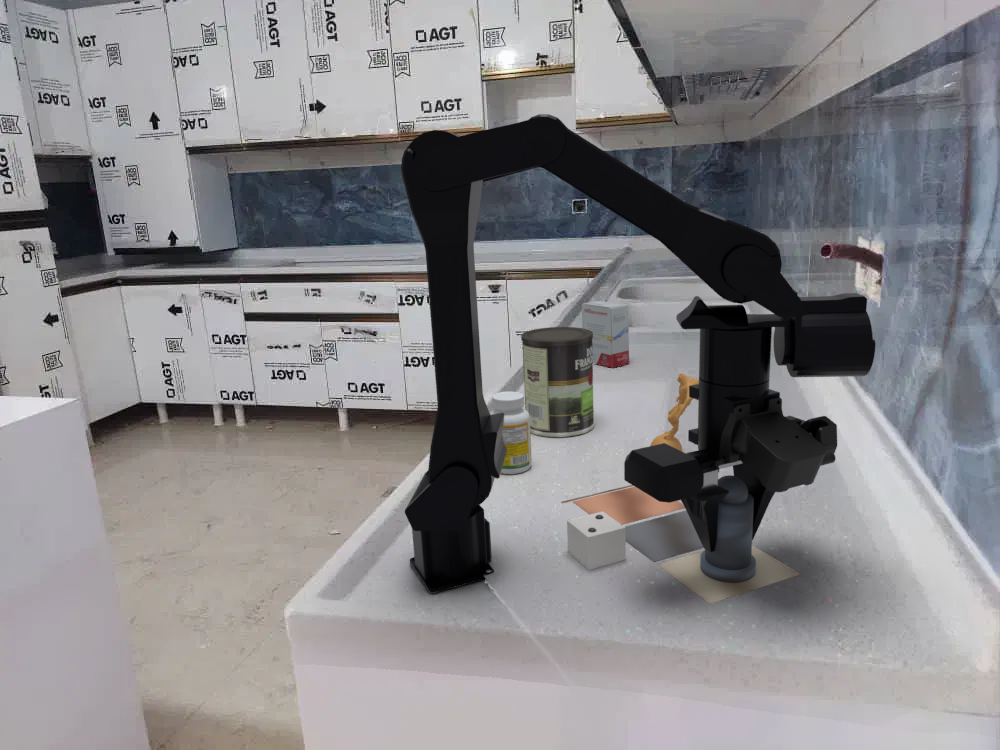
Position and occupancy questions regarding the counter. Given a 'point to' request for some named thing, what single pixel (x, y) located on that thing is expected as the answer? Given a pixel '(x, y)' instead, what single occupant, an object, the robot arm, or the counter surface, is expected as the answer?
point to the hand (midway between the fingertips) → (728, 544)
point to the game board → (676, 542)
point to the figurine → (677, 412)
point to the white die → (596, 540)
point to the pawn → (732, 536)
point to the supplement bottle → (514, 431)
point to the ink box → (607, 332)
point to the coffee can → (558, 380)
